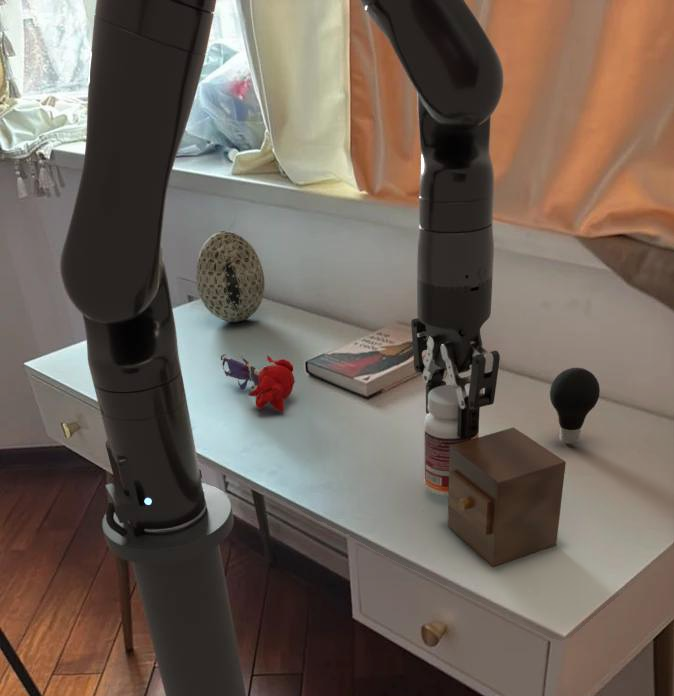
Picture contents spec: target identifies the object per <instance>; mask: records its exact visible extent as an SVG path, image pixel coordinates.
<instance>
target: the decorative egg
mask: <svg viewBox="0 0 674 696" xmlns="http://www.w3.org/2000/svg"><path fill="white" fill-rule="evenodd" d="M195 267H196V269H195V271H196V272H195V278H196V286H197V290H198V291H197V292H198V294H199V297H200V299H201V302H202V303H203V305H204V306H205V308H206V309H207V310H208V312H210V313H211V314H212V315H213V316H215V317H216V318H217V319H220V320H222V321H224V322H230V323H238V322H243V321H245V320H247V319H249V318H250V317H251V316H253V315H254V314H255V313H256V312H257V310H258V309H259V308H260V306H261V304H262V302H263V299H264V296H265V295H264V294H265V284H266V283H265V275H264V269H263V265H262V263H261V260H260V258H259V256H258V254H257V252H256V250H255V249H254V247H253V246H252V245H251V243H250V242H249V241H247V239H245V238H244V237H243V236H242V235H240V234H238V233H236V232H233V231H230V230H222V231H217V232H215V233H214V234H212V235H211V236H210V237H208V238H207V240H206V241H205V242H204V243H203V245H202V247H201V249H200V251H199V254H198V257H197V261H196V266H195Z"/></svg>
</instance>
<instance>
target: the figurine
mask: <svg viewBox="0 0 674 696" xmlns="http://www.w3.org/2000/svg"><path fill="white" fill-rule="evenodd" d="M238 357H239V358H240V359H241V360H242V362H240V361H239V360H236V359H234V358H232V357H230V358H228V355H227V354H222V355H221V356H220V360H221V361H222V369H223V372H224V374H225V377H230V378H234V379H237V383H238V386H239V387H240V390H243V391H244V390H245V389H246V388H247V385H248V382H249V381H250V382H252V383H253V384H251V386H250V387H249V390H250V391H251V392H249V393H248V394H247V396H249V397H256V398H255V406H256V408H258V409H260V410H261V409H264V408H265V406H267V405H268V404H269V403H270V405H271V406H272V408H273V409H275V410H276V411H278V412H282V413H283V412H285V408H284V406H285V401H286V400H287V399H288V398H289V396H290V395H291V394H292V392H293V389H294V385H295V383H296V380H295V375H294V374H293V371H294V365H293V364H292V363H291V362H290V361H289V360H286V359H284V358H280V359H278V360H274V359H272V357H271V356H269V355H268V354H267V355H266V360H267V361H268V363H273V364H269V365H264V366H263V367H262V368H261V369H258V368H257V367H255V366H254V365H252V364H250V362H249V361H248V360H246V359H245V358H244V356H243V355H242V354H239V356H238ZM243 362H244V363H243ZM225 363H227V367H228V371H227V370H226V369H225V365H226V364H225ZM240 380H241V381H242V380H243V381H244V382H243V383H240Z"/></svg>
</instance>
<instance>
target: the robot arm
mask: <svg viewBox="0 0 674 696" xmlns="http://www.w3.org/2000/svg"><path fill="white" fill-rule="evenodd" d="M359 2H360V3H361V5H362V7H364V10H365V12H366V13H367V14H368V16H369V17H370V19H371V20H372V22H373V23H374V24H375V25H376V27H378V29H379V31H380V32H381V33H382V34H383V35H384V36H385V37H386V39H387V40H388V42H389V44H390V45H391V47H392V50H393V51H394V54H395V55H396V57H397V59H398V61H399V62H400V64H401V66H402V68H403V70H404V71H405V73H406V76H407V77H408V79H409V81H410V82H411V85H412V86H413V88H414V89H415V91H416V98H417V99H416V100H417V102H416V103H417V120H418V132H419V133H418V135H419V148H420V158H421V159H420V161H421V162H420V163H421V164H420V176H419V177H420V178H419V192H418V193H419V194H418V195H419V196H418V197H419V198H418V199H419V204H418V205H419V207H418V208H419V210H418V211H419V218H418V219H419V225H418V226H419V229H418V238H417V239H418V240H417V244H416V245H417V246H416V247H417V248H416V316H417V317H416V318H412V319H411V322H410V326H411V327H410V328H411V339H412V340H411V341H412V355H413V368H414V371H415V373H416V374H421V379H422V382H423V384H425V413H426V414H427V415H428V413H429V411H428V394H429V392H430V391H431V390H432V389H434V388H436V387H439V386H443V385H447V381H445V380H446V378H447V376H448V381H449V385H451V386H452V387H453V388H455V389H456V393H457V398H458V402H459V407H458V429H457V435H458V437H460V438H461V439H462V440H465V439H468V438H472V437H475V436H476V435H477V434H478V430H479V431H480V409H481V408H483V407H487V406H491V405H493V404H494V403H495V397H496V390H497V383H498V382H497V381H498V376H499V368H500V360H501V356H500V353H499V351H498V350H492V351H488V350H487V349H485V348H484V347H483V341H482V335H481V329H482V326H483V325H484V324H485V323H486V322H487V321H488V320H489V318H490V317H491V314H492V297H493V275H494V256H495V255H494V253H495V242H494V240H495V239H494V230H493V229H494V227H493V226H494V225H493V219H494V201H495V199H494V198H495V171H494V165H493V162H492V158H491V153H490V141H491V140H490V138H491V116H492V115H493V114H494V113H495V111H496V109H497V107H498V105H499V103H500V100H501V98H502V94H503V89H504V69H503V65H502V61H501V59H500V56H499V55H498V52H497V51H496V48H495V47H494V44H493V43H492V41H491V40H490V38H489V36H488V35H487V33H486V31H485V30H484V29H483V27H482V25H481V24H480V22H479V20H478V19H477V17H476V15H474V13H473V11H472V10H471V8H470V7H469V5H468V4H467V2H466V1H465V0H359ZM216 5H217V0H96V3H95V9H94V16H93V28H92V41H91V50H90V60H89V70H88V71H89V74H88V85H87V86H88V87H87V108H86V135H85V149H84V156H83V164H82V169H81V174H80V178H79V179H80V180H79V183H78V188H77V193H76V197H75V202H74V206H73V209H72V214H71V218H70V222H69V225H68V229H67V233H66V236H65V239H64V242H63V245H62V248H61V252H60V255H59V271H60V273H59V274H60V279H61V282H62V285H63V288H64V290H65V293H66V296H67V297H68V299H69V300H70V302H71V304H72V305H73V306H74V307H75V308H76V309H77V311H78V312H80V314H82V315H81V316H82V318H83V319H82V320H83V324H84V330H85V331H84V332H85V339H86V352H87V354H86V355H87V365H88V368H89V373H90V377H91V380H92V383H93V388H94V393H95V395H96V396H95V397H96V400H97V404H98V408H99V412H100V416H101V420H102V425H103V429H104V432H105V436H106V441H105V442H104V443H105V447H106V452H107V455H108V456H107V457H108V460H109V465H110V467H111V472H112V475H113V478H114V482H111V483H107V484H104V487H105V491H106V492H105V493H106V496H107V499H108V504H107V508H106V512H105V514H106V521H107V523H108V525H109V527H110V528H111V529H112V530H114V531H115V532H117V533H118V534H120V535H121V536H122V537H123V536H125V535H126V534H127V533H128V532H127V530H126V529H124V528H123V527H121V526H120V525H119V524H117V523H116V522H115V520H114V512H115V514H116V516H117V518H118V520H119V522H120V523H123V522H126V521H127V523H128V525H129V526H130V528H131V529H132V531H133V533H134V535H135V536H136V537H138V536H141V535H167V534H173V533H177V532H180V531H183V530H186V529H188V528H190V527H192V526H194V525H195V524H197V523H198V522H200V521H201V520H202V519H203V517H204V516H205V514H206V512H207V504H206V500H205V496H204V491H203V487H202V483H203V481H202V479H203V475H202V472H201V471H202V470H201V469H200V465H199V460H198V454H197V449H196V444H195V439H194V433H193V427H192V422H191V416H190V411H189V406H188V400H187V395H186V389H185V384H184V378H183V373H182V367H181V366H182V365H181V361H180V356H179V355H180V353H179V347H178V336H177V328H176V322H175V316H174V310H173V304H172V298H171V291H170V286H169V280H168V279H169V278H168V274H167V267H166V263H165V258H164V257H165V256H164V253H163V248H162V236H163V227H164V226H163V225H164V217H165V208H166V201H167V195H168V190H169V184H170V180H171V175H172V171H173V168H174V164H175V162H176V158H177V155H178V154H179V153H178V152H179V150H180V147H181V143H182V141H183V138H184V135H185V132H186V128H187V125H188V122H189V118H190V116H191V112H192V110H193V109H192V108H193V105H194V101H195V98H196V94H197V91H198V87H199V83H200V80H201V76H202V72H203V68H204V65H205V60H206V54H207V51H208V45H209V40H210V35H211V31H212V30H211V29H212V26H213V21H214V15H215V14H214V12H215V11H216ZM424 351H425V354H424V357H423V352H424ZM470 370H471V371H470ZM469 371H470V375H468V376H463V377H461V376H460V375H459V374H462V373H466V372H469ZM468 384H469V387H468V388H469V395H468V396H467V394H466V389H465V386H466V385H468ZM483 389H484V391H483Z"/></svg>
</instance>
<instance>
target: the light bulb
mask: <svg viewBox="0 0 674 696" xmlns="http://www.w3.org/2000/svg"><path fill="white" fill-rule="evenodd" d="M549 389H550V390H549V399H550V402H551V405H552V407H553V409H555V411H556V413H557V419H558V424H559V427H560V428H559V437H558V439H559V441H560V442H562V443H563V444H564V445H565V446H572V445H573V444H576V443H577V442H579V440H580V436H581V430H582V427H583V425H584V423H585V420H586V418H587V415H588V414H589V413H590V412H591V411H592V410H593V409H594V408H595V406H596V405H597V403H598V401H599V399H600V392H601V391H600V389H601V388H600V384H599V381H598V378H597V377H596V375H594V374H593V373H592V372H591V371H589V370H588V369H585V368H583V367H570V368H567V369H565V370H563V371H561V372H560V373H559V374H557V376H556V377H555V378H554V379H553V380H552V383H551V385H550V388H549Z"/></svg>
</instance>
